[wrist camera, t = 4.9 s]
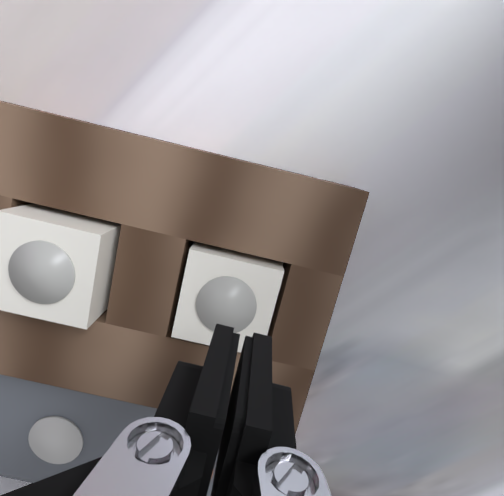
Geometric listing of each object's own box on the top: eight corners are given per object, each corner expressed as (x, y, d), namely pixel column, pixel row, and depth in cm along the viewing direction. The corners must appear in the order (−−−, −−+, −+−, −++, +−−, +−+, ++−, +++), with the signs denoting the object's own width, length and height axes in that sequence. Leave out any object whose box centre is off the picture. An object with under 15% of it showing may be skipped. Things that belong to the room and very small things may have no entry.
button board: (353, 187, 20) (369, 192, 17) (289, 402, 23) (293, 438, 20) (-156, 62, 19) (-230, 45, 16) (-156, 304, 22) (-219, 326, 19)
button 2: (280, 255, 21) (284, 272, 18) (260, 330, 22) (261, 359, 19) (199, 236, 20) (188, 249, 17) (182, 312, 21) (170, 338, 18)
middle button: (124, 223, 19) (99, 235, 16) (111, 304, 20) (85, 331, 17) (36, 202, 19) (-7, 211, 16) (26, 285, 20) (-15, 308, 17)
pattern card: (232, 420, 23) (231, 427, 23) (208, 513, 25) (207, 522, 24) (-104, 347, 23) (-113, 352, 22) (-107, 447, 24) (-116, 454, 24)
